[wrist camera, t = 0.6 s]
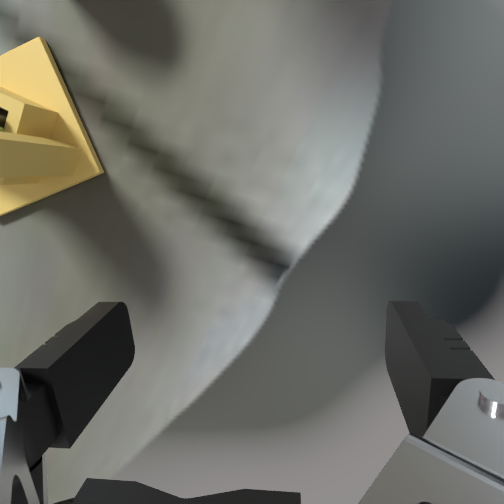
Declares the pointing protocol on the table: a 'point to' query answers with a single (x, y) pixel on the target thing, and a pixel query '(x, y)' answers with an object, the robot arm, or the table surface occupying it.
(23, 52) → the stand base
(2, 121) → the column
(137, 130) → the table surface
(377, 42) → the table surface
